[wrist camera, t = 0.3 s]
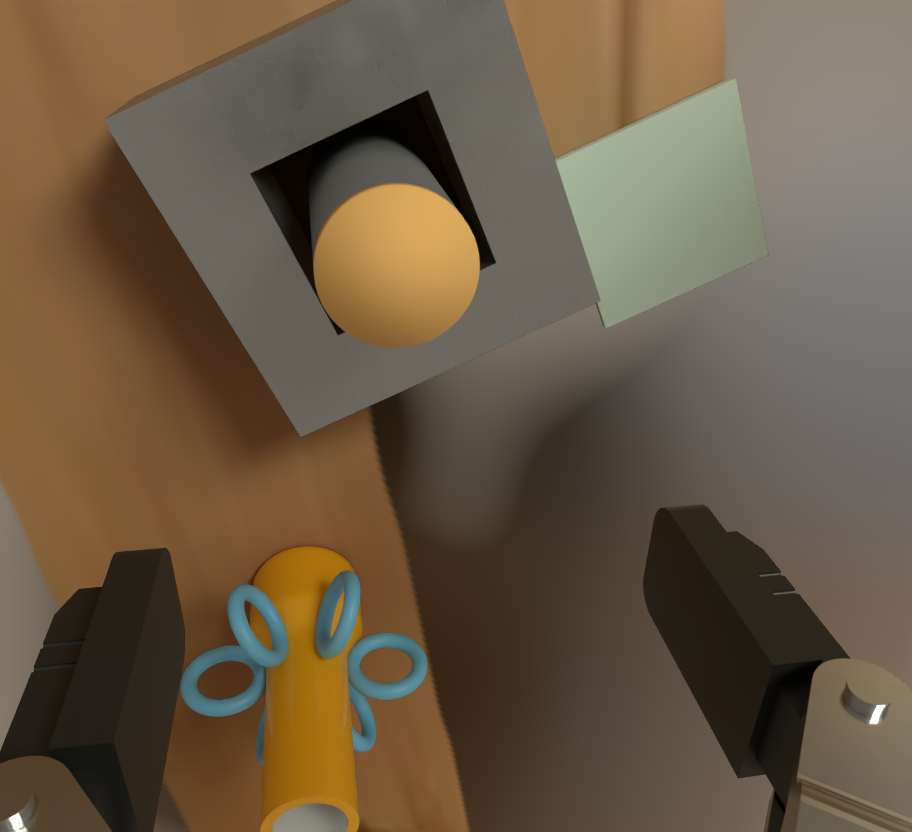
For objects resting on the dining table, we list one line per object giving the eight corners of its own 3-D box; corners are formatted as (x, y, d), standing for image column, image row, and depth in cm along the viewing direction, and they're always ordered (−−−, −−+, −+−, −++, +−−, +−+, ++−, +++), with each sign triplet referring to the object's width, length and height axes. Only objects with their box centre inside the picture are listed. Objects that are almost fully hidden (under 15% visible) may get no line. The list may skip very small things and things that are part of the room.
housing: (451, -55, 31) (483, -62, 25) (559, 257, 38) (601, 301, 33) (134, 97, 31) (102, 120, 26) (299, 375, 38) (300, 437, 33)
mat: (731, 77, 35) (735, 78, 35) (764, 252, 40) (768, 255, 39) (549, 161, 35) (551, 163, 35) (603, 325, 40) (605, 328, 40)
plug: (396, 102, 33) (442, 158, 23) (442, 213, 36) (502, 307, 25) (286, 154, 33) (282, 232, 23) (340, 260, 36) (359, 372, 26)
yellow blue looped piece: (159, 563, 42) (100, 818, 29) (319, 467, 41) (331, 689, 28) (292, 684, 48) (291, 939, 36) (434, 603, 47) (487, 836, 34)
